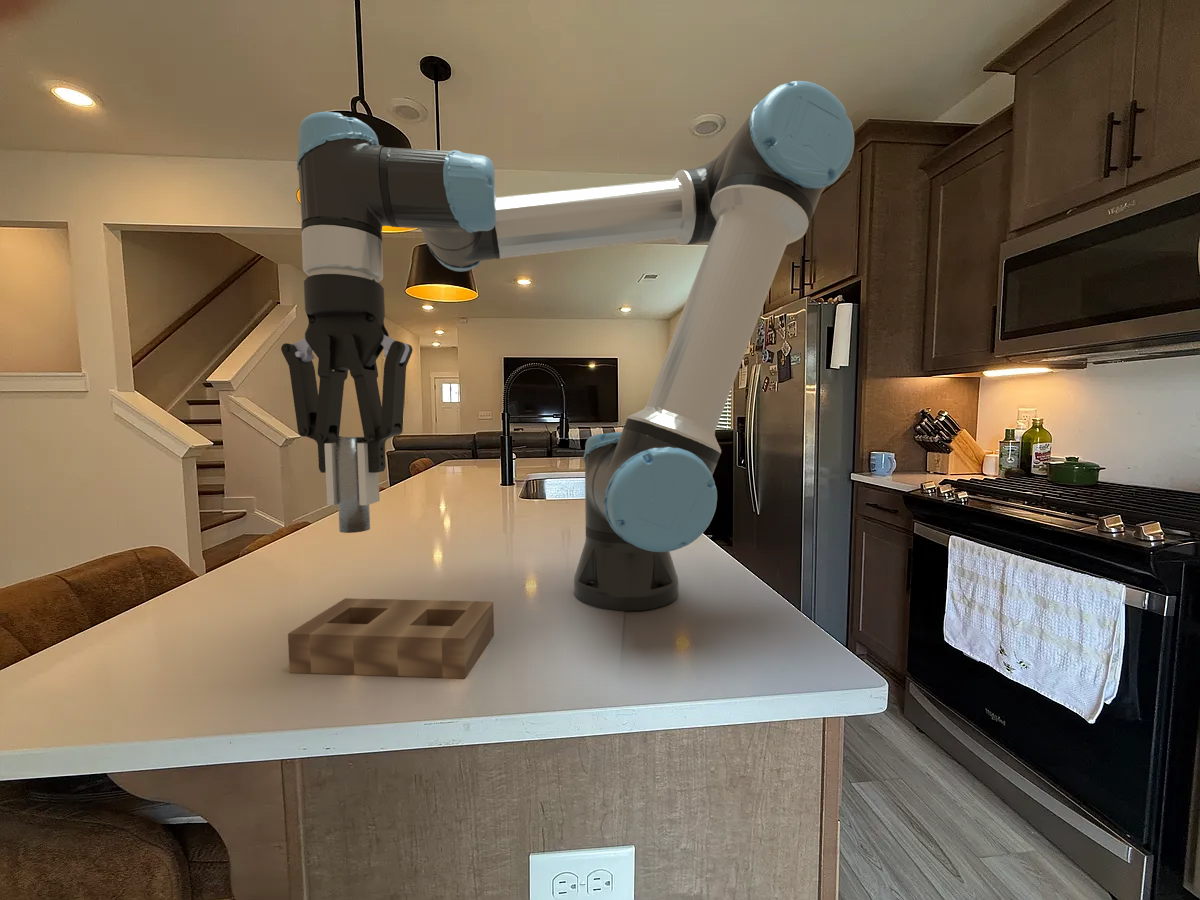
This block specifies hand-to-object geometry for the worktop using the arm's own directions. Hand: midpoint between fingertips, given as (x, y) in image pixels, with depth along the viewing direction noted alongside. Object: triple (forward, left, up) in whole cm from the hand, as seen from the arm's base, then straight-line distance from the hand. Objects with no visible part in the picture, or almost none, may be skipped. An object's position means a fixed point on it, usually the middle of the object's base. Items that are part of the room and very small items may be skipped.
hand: (353, 502), depth 55 cm
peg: (0, 0, -3) cm, 3 cm away
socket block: (-5, 0, -16) cm, 17 cm away
